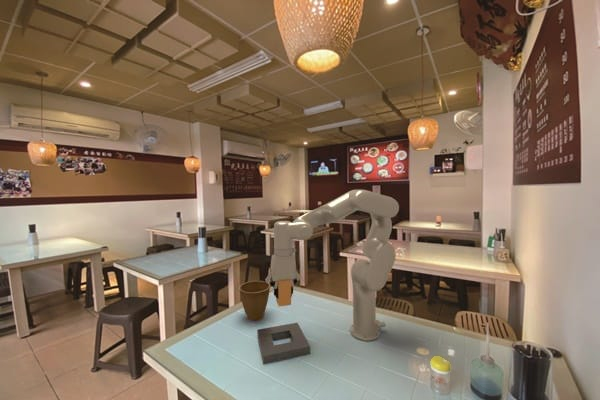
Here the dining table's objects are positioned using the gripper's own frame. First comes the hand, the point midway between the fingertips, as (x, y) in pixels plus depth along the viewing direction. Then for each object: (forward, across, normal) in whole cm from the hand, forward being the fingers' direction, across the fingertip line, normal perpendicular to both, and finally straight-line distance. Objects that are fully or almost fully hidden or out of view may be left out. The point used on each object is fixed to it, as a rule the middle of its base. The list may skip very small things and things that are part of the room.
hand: (283, 295), depth 100 cm
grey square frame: (+20, +1, 0) cm, 20 cm away
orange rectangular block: (+3, 0, 0) cm, 3 cm away
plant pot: (+20, +9, -25) cm, 33 cm away
